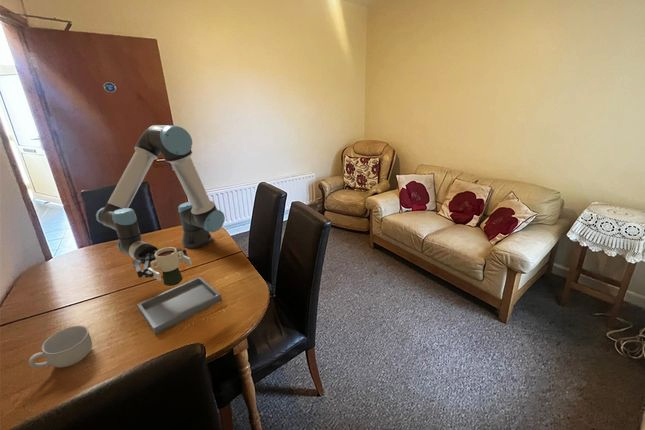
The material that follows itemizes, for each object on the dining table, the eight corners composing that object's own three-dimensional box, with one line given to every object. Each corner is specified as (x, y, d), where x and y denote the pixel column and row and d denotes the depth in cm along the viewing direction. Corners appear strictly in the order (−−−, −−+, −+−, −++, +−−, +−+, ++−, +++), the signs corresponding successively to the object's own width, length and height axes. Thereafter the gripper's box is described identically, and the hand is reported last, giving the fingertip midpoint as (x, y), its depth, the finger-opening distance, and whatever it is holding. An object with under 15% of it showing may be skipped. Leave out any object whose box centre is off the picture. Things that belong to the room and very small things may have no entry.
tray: (201, 282, 124) (199, 276, 122) (221, 300, 112) (220, 294, 111) (139, 310, 108) (137, 304, 106) (155, 335, 96) (153, 328, 95)
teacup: (93, 338, 95) (85, 319, 92) (99, 357, 88) (90, 337, 85) (36, 364, 86) (25, 344, 83) (37, 388, 79) (25, 367, 76)
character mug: (184, 272, 112) (177, 243, 107) (192, 279, 107) (185, 249, 102) (154, 285, 104) (145, 254, 99) (161, 293, 100) (152, 261, 95)
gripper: (174, 248, 123) (206, 263, 111) (114, 275, 105) (144, 295, 93) (170, 232, 120) (202, 246, 108) (107, 257, 102) (138, 276, 91)
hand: (175, 269), depth 101 cm, fingers closed on character mug, 11 cm apart
